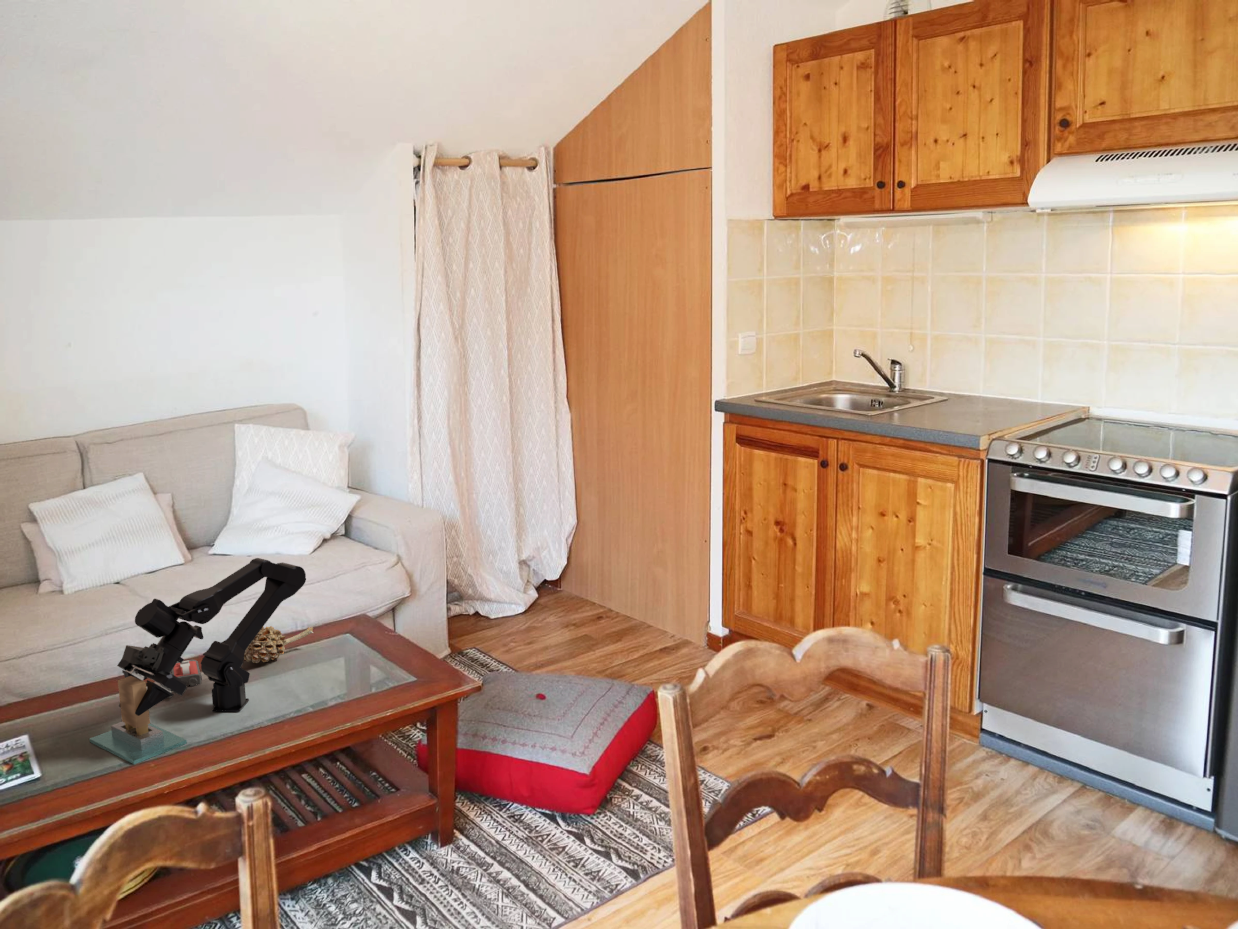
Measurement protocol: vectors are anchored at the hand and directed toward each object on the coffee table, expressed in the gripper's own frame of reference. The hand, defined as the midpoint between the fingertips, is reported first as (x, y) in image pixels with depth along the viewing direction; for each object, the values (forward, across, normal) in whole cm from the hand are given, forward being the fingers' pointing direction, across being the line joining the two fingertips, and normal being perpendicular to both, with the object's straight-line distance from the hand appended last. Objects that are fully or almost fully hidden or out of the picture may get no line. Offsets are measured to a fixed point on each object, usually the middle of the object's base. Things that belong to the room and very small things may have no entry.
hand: (128, 711), depth 230 cm
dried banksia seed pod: (-29, -18, +41) cm, 54 cm away
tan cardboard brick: (+4, 0, +6) cm, 7 cm away
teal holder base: (+5, 0, +6) cm, 8 cm away
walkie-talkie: (-12, -22, +24) cm, 35 cm away
